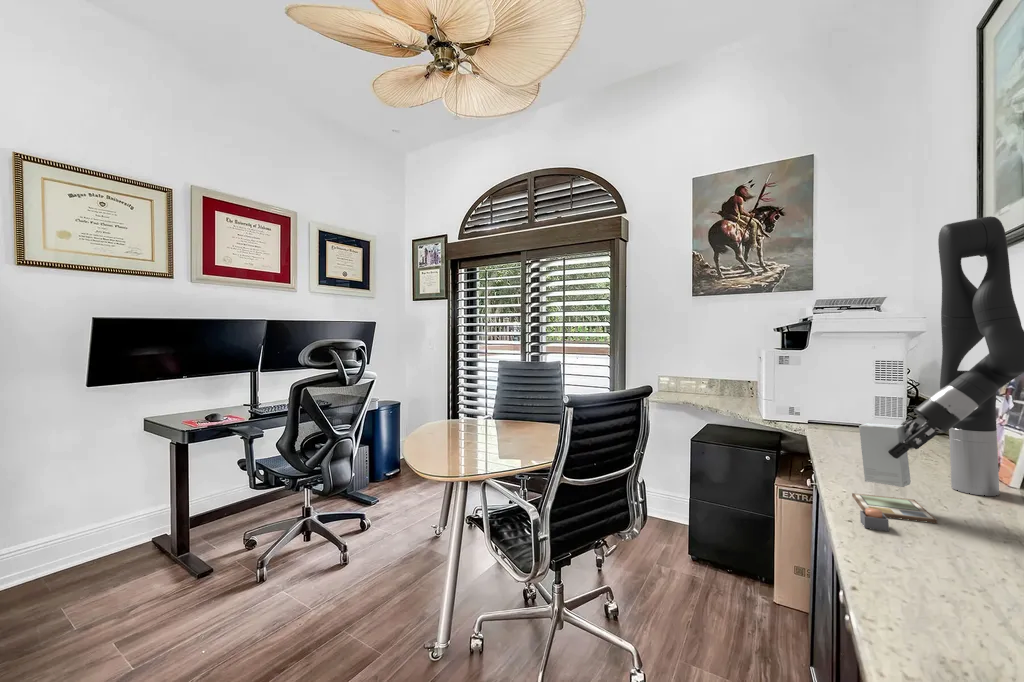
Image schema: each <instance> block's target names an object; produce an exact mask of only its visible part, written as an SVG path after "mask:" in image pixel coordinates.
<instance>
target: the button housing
mask: <svg viewBox="0 0 1024 682" xmlns="http://www.w3.org/2000/svg"><path fill="white" fill-rule="evenodd" d="M859 512H860V524H861V525H862V526H863V525H864V526H863V527H864V529H867V528H871V529H870V530H874V529H878V530H877V531H882V530H885V531H884V532H889V530H890V529H889V528H890V527H889V523H890V522H889V518H887V517H886V516H885V515H884V514H883V513H882V518H875V517H866V514H865V511H863V510H860V511H859Z"/></svg>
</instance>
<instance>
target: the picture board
mask: <svg viewBox="0 0 1024 682" xmlns="http://www.w3.org/2000/svg"><path fill="white" fill-rule="evenodd" d="M851 494H852V495H851V497H852V498H853V500H855V502H856V503H857V505H858V506H859V508H861V511H865V509H866V508H873V509H878V510H881V511H882V513H883V514H884V515H885V516H886V517H891V518H890V519H895V518H902V519H901V520H903V519H909V520H908V521H912V520H917V521H916V522H920V521H927V522H926V523H928V522H932V523H931V524H938V519H936V517H934V516H933V515H932V514H931V513H930V512H928V511H927V509H925V508H924V507H923V506H922V505H921V504H920V503H919V502H917V501H916V500H915V499H913V498H902V497H894V496H893V497H892V496H883V495H875V494H865V493H863V494H862V493H855V492H854V493H853V492H852V493H851Z"/></svg>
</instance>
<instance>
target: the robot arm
mask: <svg viewBox="0 0 1024 682" xmlns="http://www.w3.org/2000/svg"><path fill="white" fill-rule="evenodd" d="M1004 227H1005V226H1004V225H1003V223H1002V221H1001V220H1000V219H999V218H998V217H995V216H984V217H978V218H973V219H968V220H963V221H957V222H952V223H947V224H944V225H943V226H942V227H941V228H940V230H939V233H938V243H937V245H938V254H939V264H940V275H941V307H940V311H941V313H940V316H941V318H940V322H941V323H940V324H941V325H940V326H941V327H940V329H941V342H942V344H941V345H942V348H941V349H942V350H941V351H942V354H941V366H940V367H941V368H940V381H939V390H937V391H935V393H933V394H932V395H930V397H927V399H925V400H924V401H923V402H922V403H920V404H919V405H918V406H916V407H914V409H913V412H914V413H915V415H916V416H918V417H917V418H915V419H913V418H911V417H909V418H907V419H906V420H905V421H903V422H902V423H901V424H900V425H904V428H905V434H904V435H905V438H904V439H903V440H902V441H901V442H902V443H901V442H900V443H898V444H897V445H896V446H894V447H893V448H892V449H890V450H889V451H888V453H889V454H890V455H892V456H893V457H894V458H896V459H897V458H899V457H900V456H902V455H903V454H904V453H906V452H907V453H908V451H910V450H911V451H912V450H914V449H915V450H918V449H920V448H921V447H923V446H924V445H925V444H926V443H927V442H929V441H930V440H932V439H933V438H934V437H936V436H937V435H938V434H939V432H942V433H947V432H948V436H949V437H948V438H949V456H950V458H949V459H950V482H951V483H950V484H951V485H950V486H951V487H950V488H952V489H953V490H955V491H957V490H958V492H961V493H966V494H969V493H970V495H977V496H984V495H985V496H986V497H994V496H995V497H996V495H997V496H1000V476H999V475H1000V472H999V452H998V433H997V432H998V431H997V430H998V429H997V410H996V409H997V391H998V390H1001V388H1002V387H1004V386H1006V385H1007V384H1009V383H1011V382H1012V381H1014V380H1015V379H1016V378H1017V377H1019V376H1020V375H1022V374H1024V328H1023V326H1022V321H1021V317H1020V314H1019V312H1018V307H1017V306H1016V305H1017V304H1016V302H1015V298H1014V294H1013V289H1012V282H1011V279H1012V278H1011V271H1010V270H1011V269H1010V259H1009V258H1010V257H1009V250H1008V242H1007V234H1006V231H1005V228H1004ZM979 256H986V261H987V265H986V266H987V267H986V272H985V274H984V276H983V279H982V280H981V282H980V284H979V286H978V288H977V287H976V286H975V285H974V284H973V283H972V282H971V281H970V279H968V277H967V276H966V274H965V273H964V270H963V267H962V259H965V258H972V257H979ZM983 338H984V339H985V343H986V346H987V350H988V354H987V355H985V356H984V357H983V358H982V359H981V360H979V361H978V362H977V363H975V365H973V367H971V368H970V369H969V370H959V367H960V365H961V363H962V361H963V359H964V358H965V357H966V355H968V353H969V352H971V350H972V349H973V348H974V347H976V345H978V343H980V342H981V341H982V340H983ZM935 429H936V430H935ZM937 430H938V431H939V432H938V431H937Z"/></svg>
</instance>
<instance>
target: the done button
mask: <svg viewBox="0 0 1024 682" xmlns="http://www.w3.org/2000/svg"><path fill="white" fill-rule="evenodd" d="M865 514H866V517H875V518H882V511H881V510H878V509H873V508H866V509H865Z"/></svg>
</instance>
